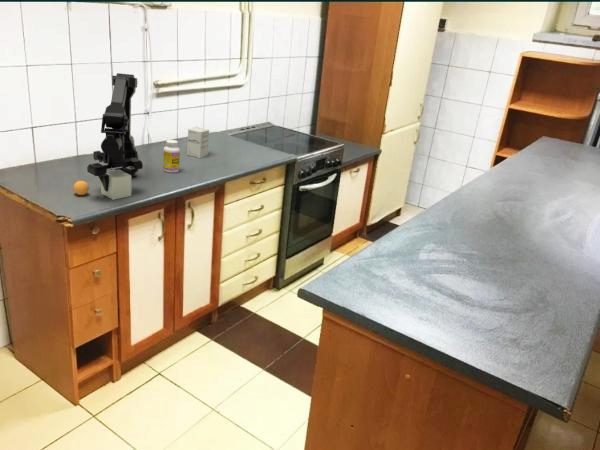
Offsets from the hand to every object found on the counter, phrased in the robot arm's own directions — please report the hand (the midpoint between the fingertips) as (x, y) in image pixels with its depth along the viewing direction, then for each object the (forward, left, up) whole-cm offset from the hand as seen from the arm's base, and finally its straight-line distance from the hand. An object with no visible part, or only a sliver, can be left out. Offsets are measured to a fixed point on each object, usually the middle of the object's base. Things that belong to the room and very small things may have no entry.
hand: (116, 189), depth 186 cm
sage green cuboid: (0, 0, -2) cm, 2 cm away
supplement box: (-59, -26, -2) cm, 65 cm away
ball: (+10, -6, 0) cm, 12 cm away
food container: (-26, -34, -2) cm, 43 cm away
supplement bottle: (-34, -13, -2) cm, 36 cm away
